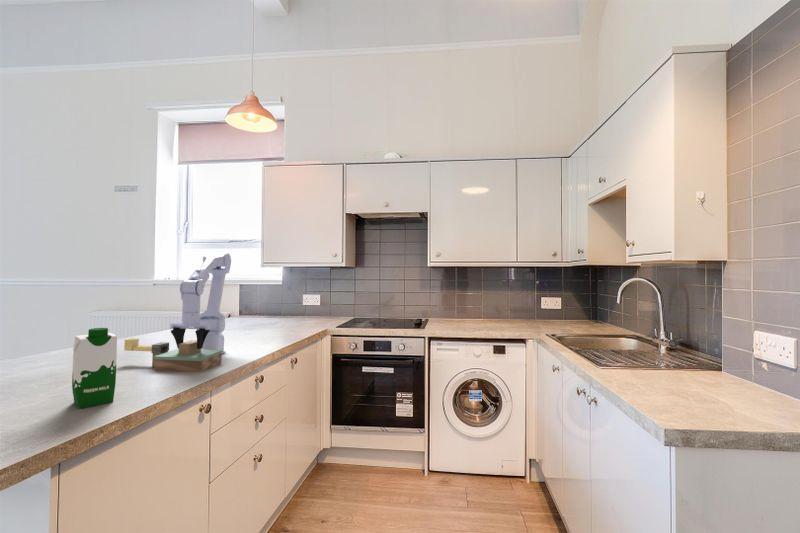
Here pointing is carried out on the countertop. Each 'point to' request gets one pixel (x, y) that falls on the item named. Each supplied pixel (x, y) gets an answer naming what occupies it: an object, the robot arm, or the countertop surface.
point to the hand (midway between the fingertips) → (189, 348)
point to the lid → (188, 352)
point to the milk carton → (94, 368)
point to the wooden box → (181, 361)
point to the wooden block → (136, 346)
